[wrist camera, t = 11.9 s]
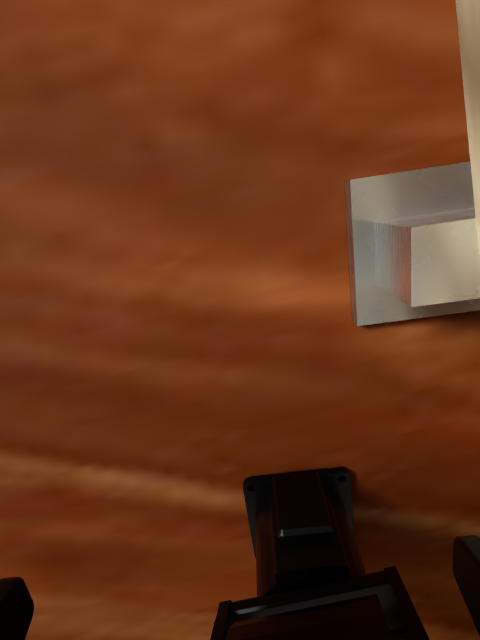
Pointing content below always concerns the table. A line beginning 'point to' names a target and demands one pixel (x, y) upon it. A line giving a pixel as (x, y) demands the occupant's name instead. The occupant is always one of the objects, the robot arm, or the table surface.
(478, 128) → the maple beam
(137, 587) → the table surface
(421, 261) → the ridge
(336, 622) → the robot arm
